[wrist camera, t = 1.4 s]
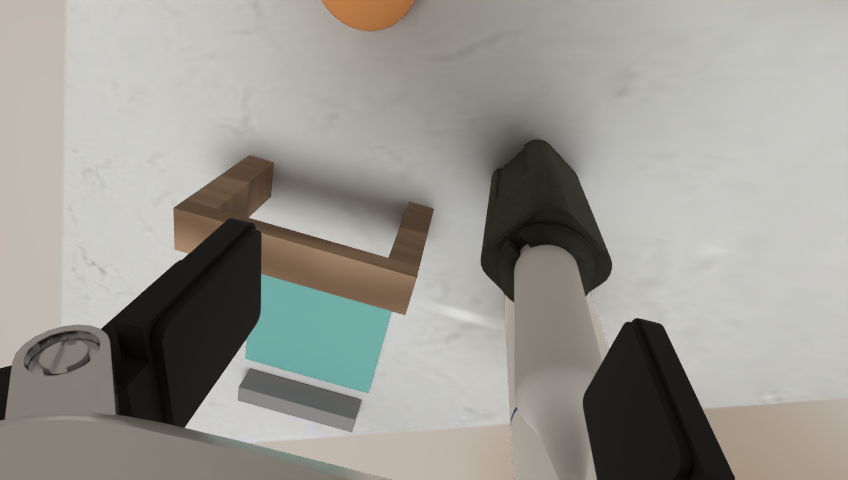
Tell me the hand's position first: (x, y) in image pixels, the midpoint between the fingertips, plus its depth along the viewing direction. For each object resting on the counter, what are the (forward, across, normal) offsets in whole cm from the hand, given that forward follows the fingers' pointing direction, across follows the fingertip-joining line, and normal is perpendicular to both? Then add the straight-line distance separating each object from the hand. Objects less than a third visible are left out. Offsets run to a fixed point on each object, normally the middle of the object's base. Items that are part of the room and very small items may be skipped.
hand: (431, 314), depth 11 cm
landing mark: (+22, +9, +24) cm, 34 cm away
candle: (+23, -6, +4) cm, 24 cm away
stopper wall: (+22, +10, +33) cm, 41 cm away
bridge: (+23, +9, +10) cm, 26 cm away
